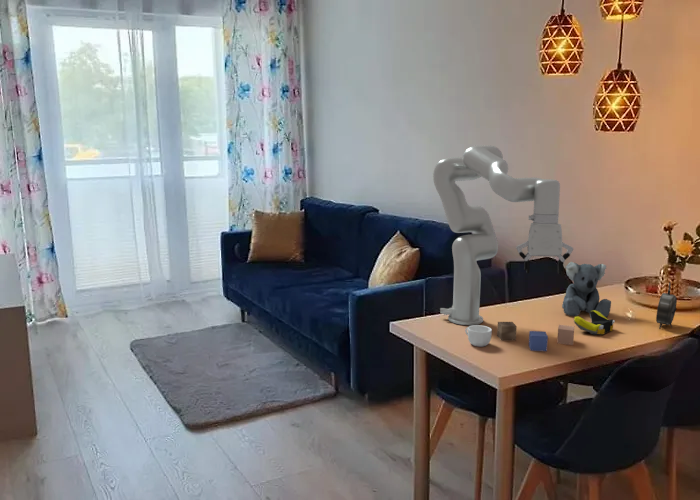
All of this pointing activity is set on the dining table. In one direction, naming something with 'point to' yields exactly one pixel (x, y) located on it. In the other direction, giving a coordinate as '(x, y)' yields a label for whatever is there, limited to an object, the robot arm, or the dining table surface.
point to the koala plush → (584, 290)
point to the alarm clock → (666, 308)
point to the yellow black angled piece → (595, 323)
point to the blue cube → (538, 341)
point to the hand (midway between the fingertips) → (543, 273)
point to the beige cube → (565, 334)
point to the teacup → (479, 335)
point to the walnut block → (506, 331)
